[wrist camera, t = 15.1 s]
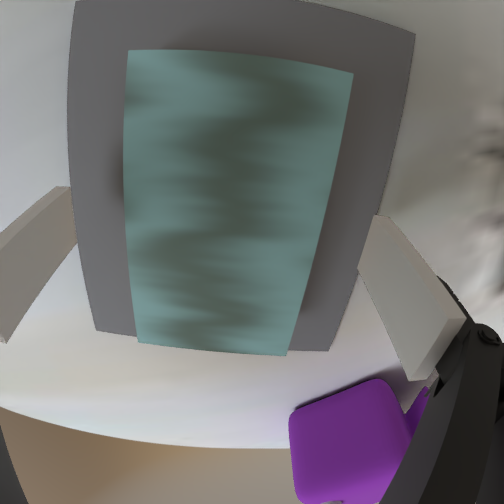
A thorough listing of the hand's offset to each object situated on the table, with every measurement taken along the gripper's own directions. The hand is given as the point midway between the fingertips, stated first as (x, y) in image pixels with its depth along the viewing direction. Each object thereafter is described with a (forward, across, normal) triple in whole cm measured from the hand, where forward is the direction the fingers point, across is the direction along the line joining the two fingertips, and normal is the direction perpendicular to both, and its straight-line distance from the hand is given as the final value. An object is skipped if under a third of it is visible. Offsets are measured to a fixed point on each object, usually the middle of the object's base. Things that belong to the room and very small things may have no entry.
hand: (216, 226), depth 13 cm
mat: (+3, 0, 0) cm, 3 cm away
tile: (+1, 0, -7) cm, 7 cm away
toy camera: (+3, +14, -18) cm, 23 cm away
